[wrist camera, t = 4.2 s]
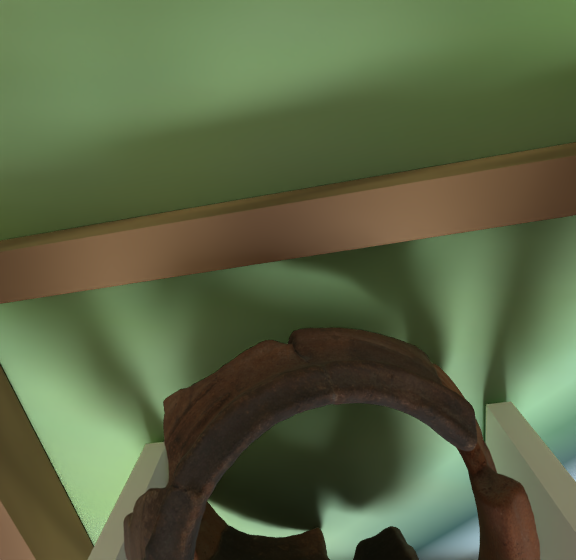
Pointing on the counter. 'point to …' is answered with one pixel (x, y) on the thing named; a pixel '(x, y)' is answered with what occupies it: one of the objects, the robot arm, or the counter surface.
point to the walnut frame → (236, 253)
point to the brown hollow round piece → (295, 399)
